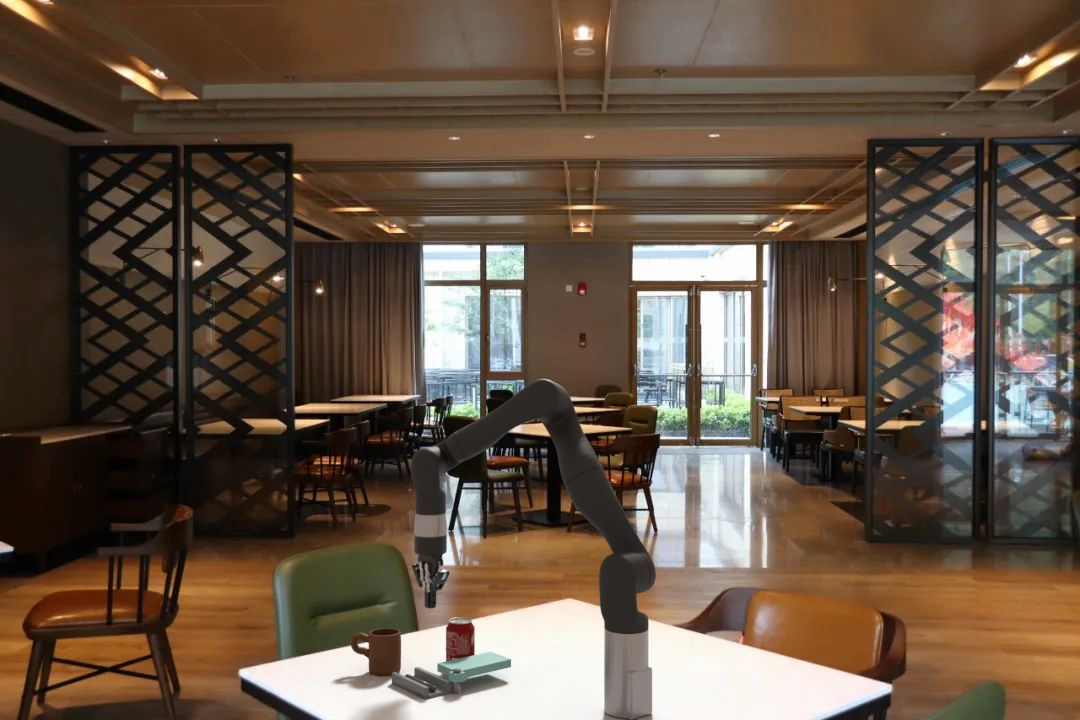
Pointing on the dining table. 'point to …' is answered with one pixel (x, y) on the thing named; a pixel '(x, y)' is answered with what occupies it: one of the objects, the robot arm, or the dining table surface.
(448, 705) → the dining table surface
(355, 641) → the mug
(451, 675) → the cover
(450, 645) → the soda can
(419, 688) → the grey rail
